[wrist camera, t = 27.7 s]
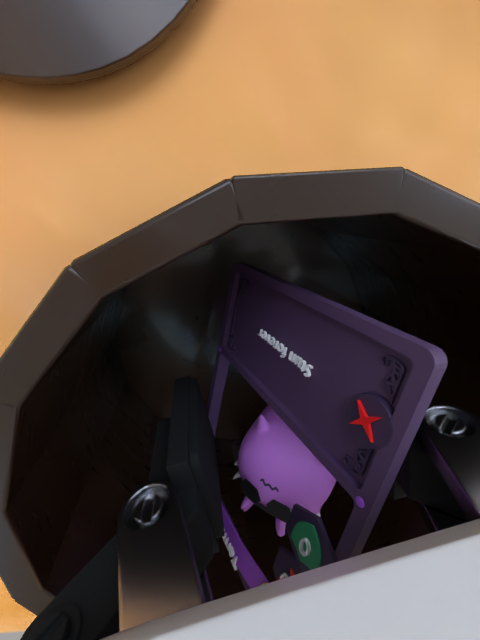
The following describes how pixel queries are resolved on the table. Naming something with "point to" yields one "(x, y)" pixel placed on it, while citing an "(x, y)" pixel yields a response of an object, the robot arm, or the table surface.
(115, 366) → the basket
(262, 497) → the purple toy package
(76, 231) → the table surface
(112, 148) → the table surface
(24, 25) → the basket lid
